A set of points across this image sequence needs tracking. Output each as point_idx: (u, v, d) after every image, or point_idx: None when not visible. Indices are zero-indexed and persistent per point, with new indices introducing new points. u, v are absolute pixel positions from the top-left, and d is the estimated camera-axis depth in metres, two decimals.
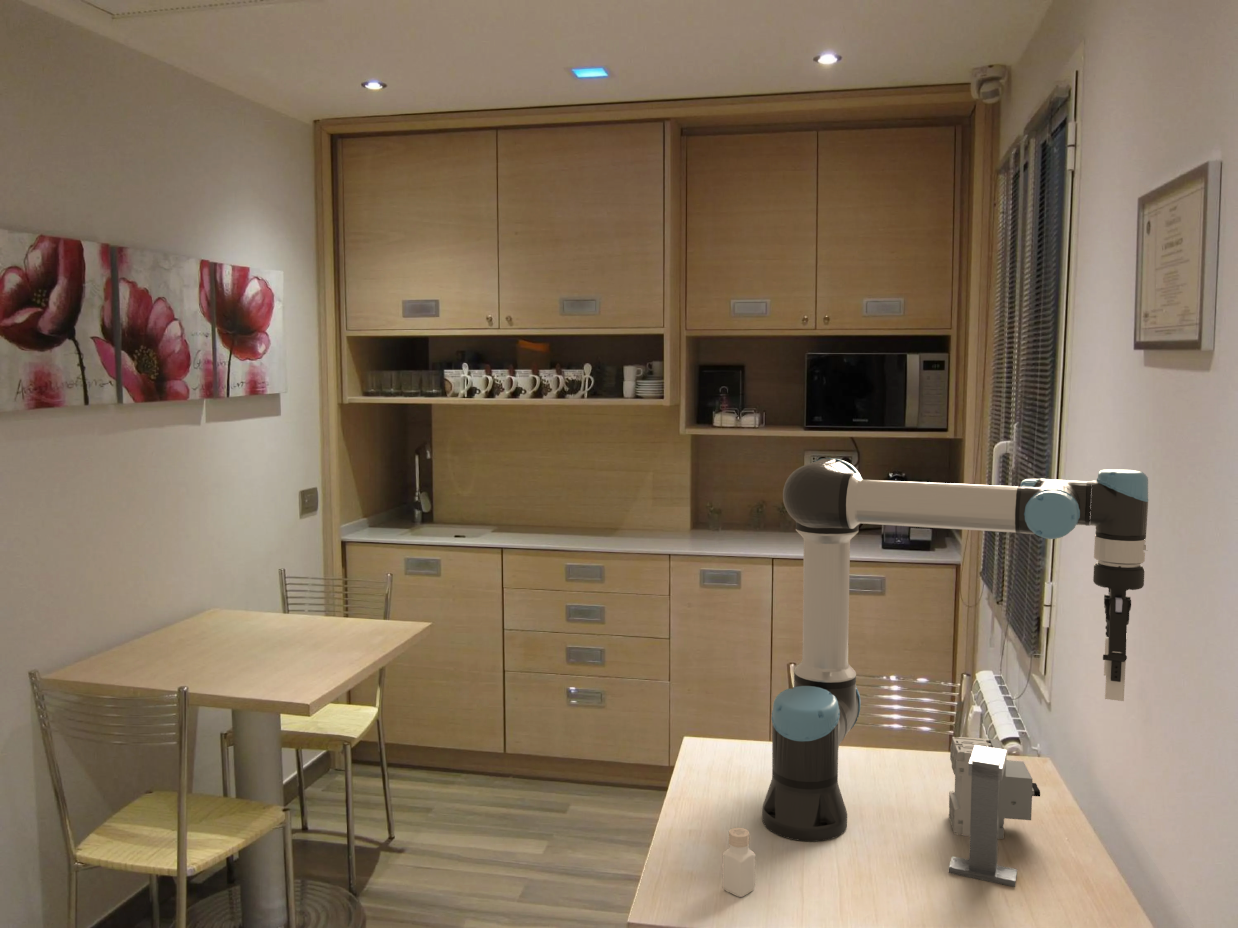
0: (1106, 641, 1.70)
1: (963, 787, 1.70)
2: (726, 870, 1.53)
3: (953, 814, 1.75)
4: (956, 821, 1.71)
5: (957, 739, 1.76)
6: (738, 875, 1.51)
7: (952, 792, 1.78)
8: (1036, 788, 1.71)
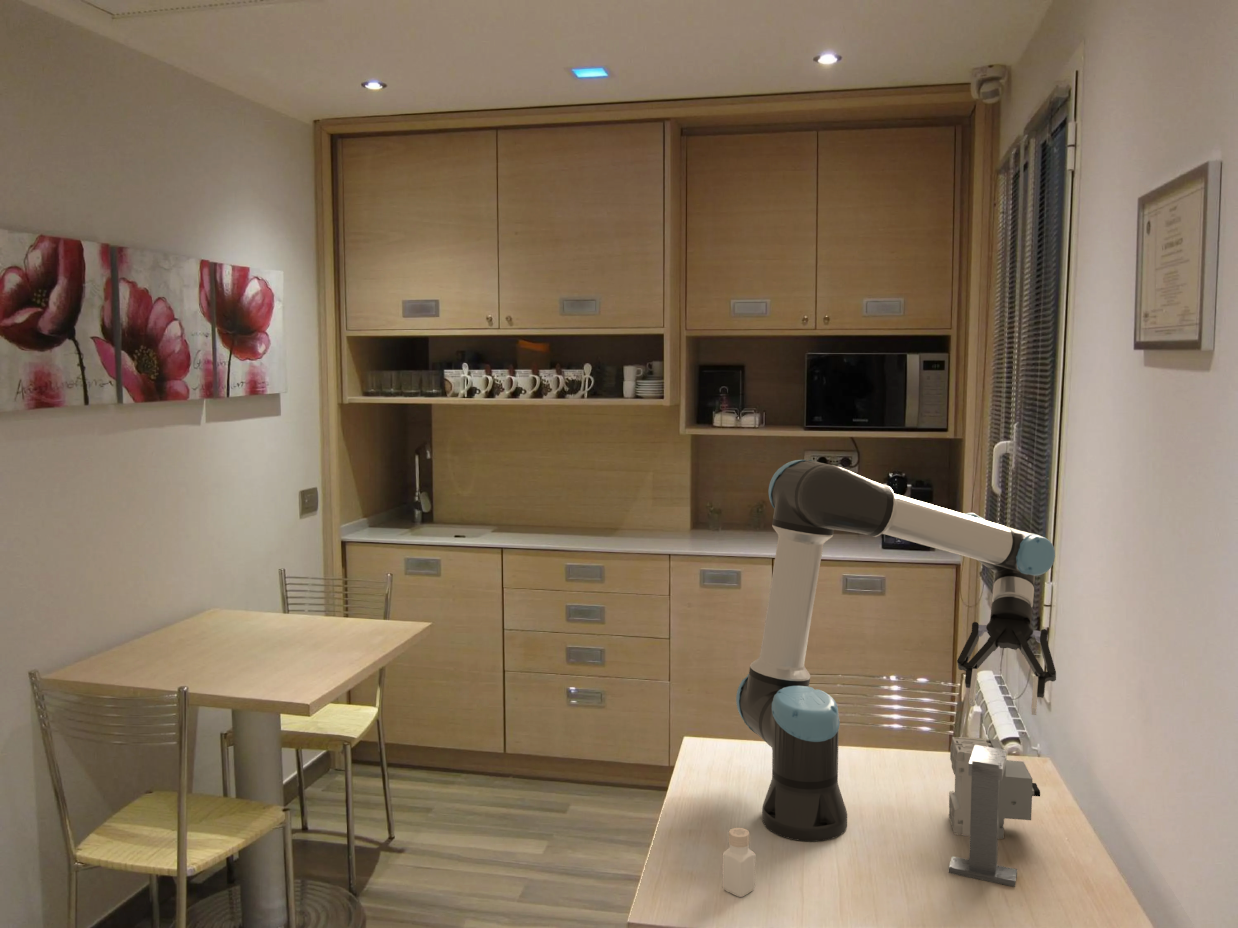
0: (976, 671, 1.85)
1: (963, 787, 1.70)
2: (726, 870, 1.53)
3: (953, 814, 1.75)
4: (956, 821, 1.71)
5: (957, 739, 1.76)
6: (738, 875, 1.51)
7: (952, 792, 1.78)
8: (1036, 788, 1.71)
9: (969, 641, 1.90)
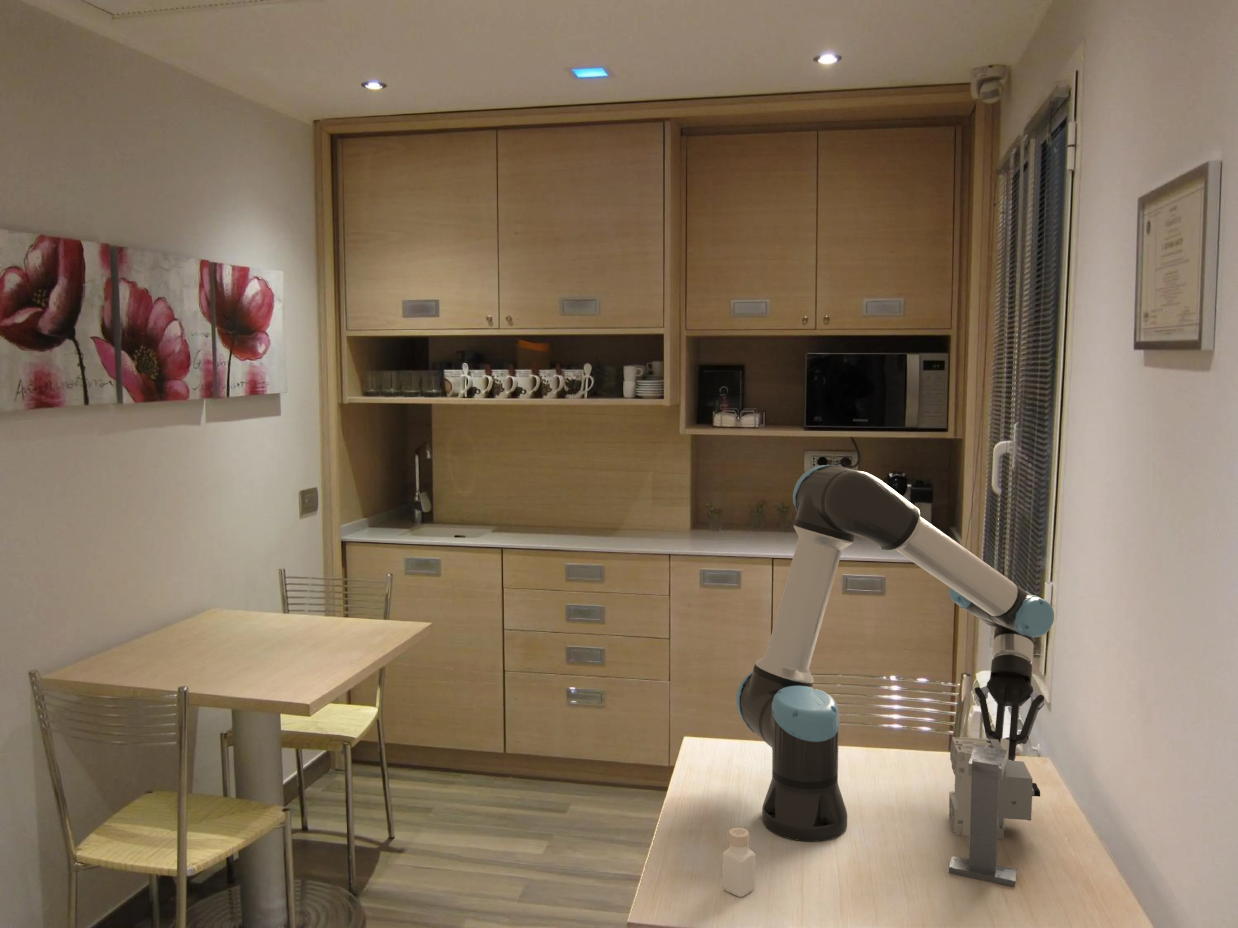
0: (1004, 741, 1.84)
1: (963, 787, 1.70)
2: (726, 870, 1.53)
3: (953, 814, 1.75)
4: (956, 821, 1.71)
5: (957, 739, 1.76)
6: (738, 875, 1.51)
7: (952, 792, 1.78)
8: (1036, 788, 1.71)
9: (983, 708, 1.89)
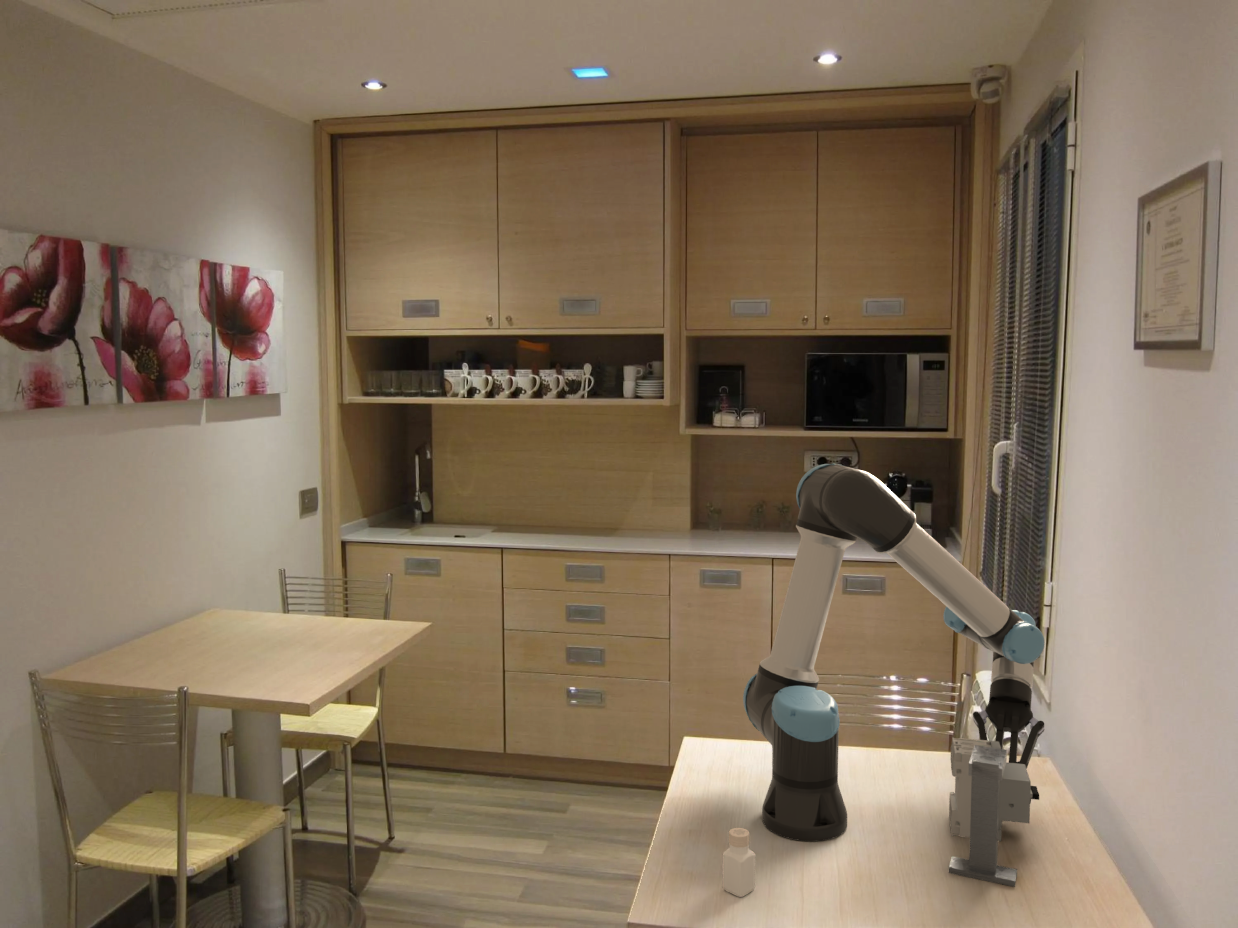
0: None
1: (961, 788, 1.70)
2: (726, 870, 1.53)
3: (952, 815, 1.74)
4: (953, 822, 1.71)
5: (957, 740, 1.75)
6: (738, 875, 1.51)
7: (952, 793, 1.77)
8: (1036, 791, 1.69)
9: (982, 733, 1.85)
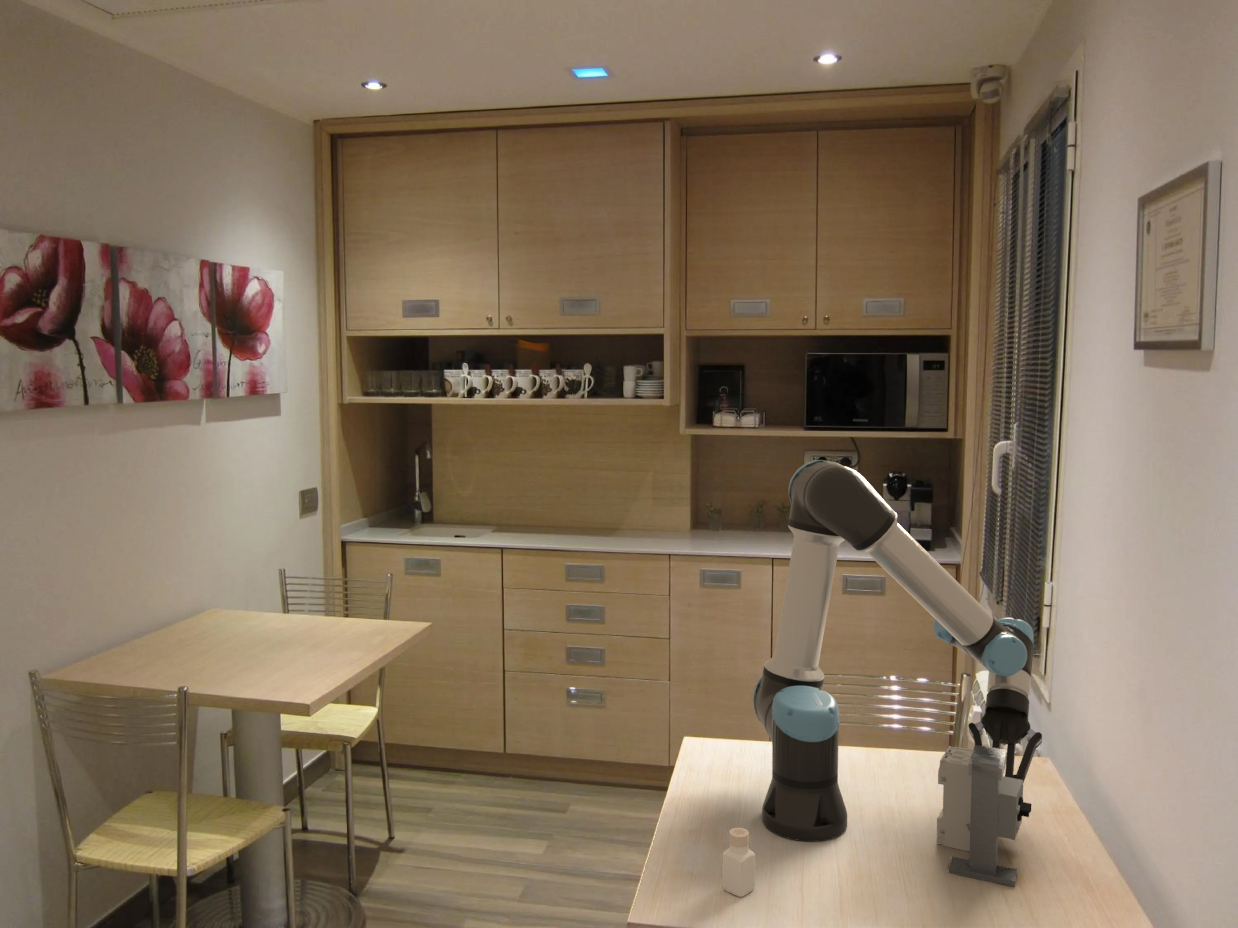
0: None
1: (945, 796, 1.67)
2: (726, 870, 1.53)
3: None
4: (938, 830, 1.68)
5: (952, 748, 1.72)
6: (738, 875, 1.51)
7: None
8: (1026, 808, 1.63)
9: None
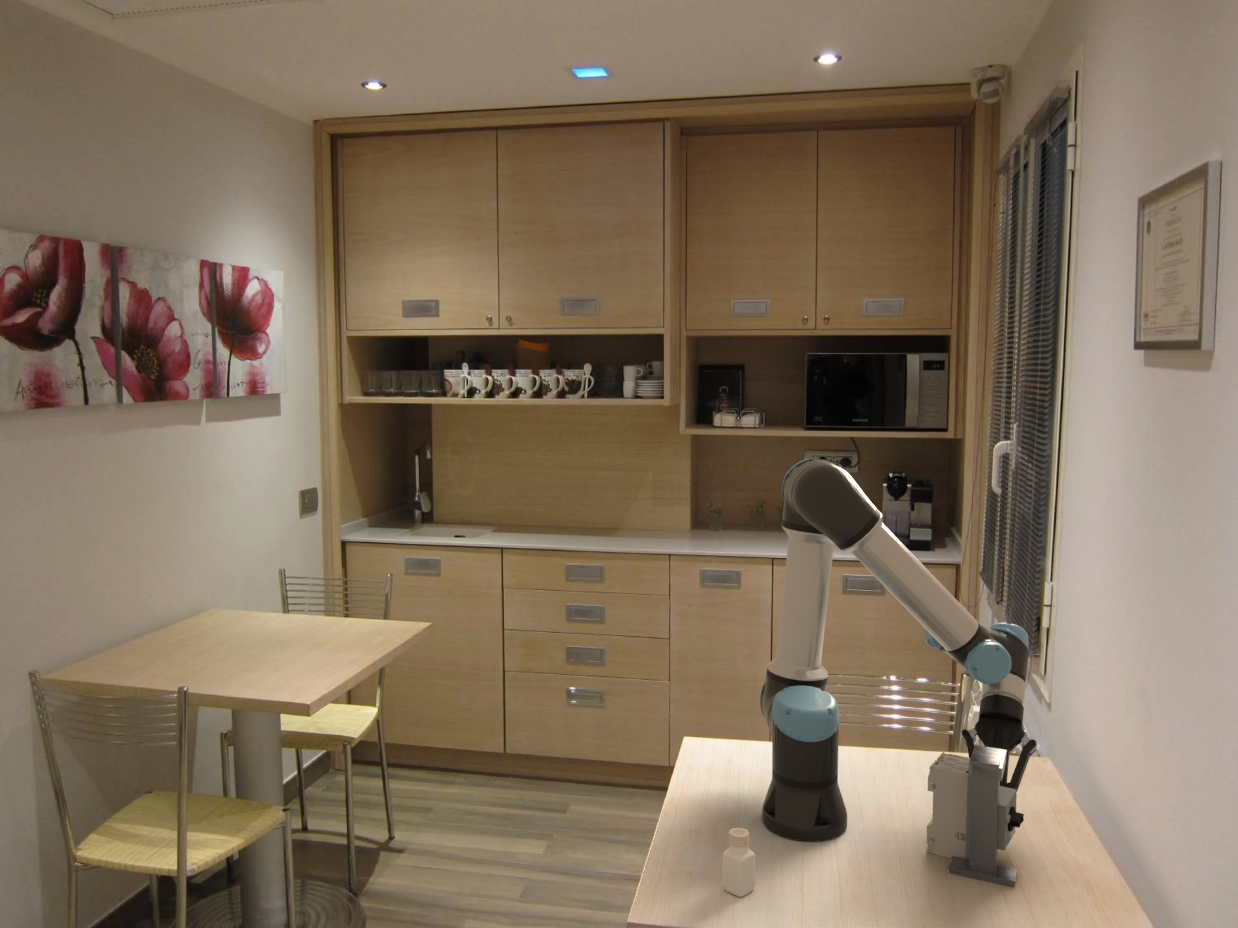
0: None
1: (935, 804, 1.64)
2: (726, 870, 1.53)
3: None
4: (928, 838, 1.65)
5: (945, 755, 1.69)
6: (738, 875, 1.51)
7: None
8: (1018, 818, 1.59)
9: (971, 752, 1.76)
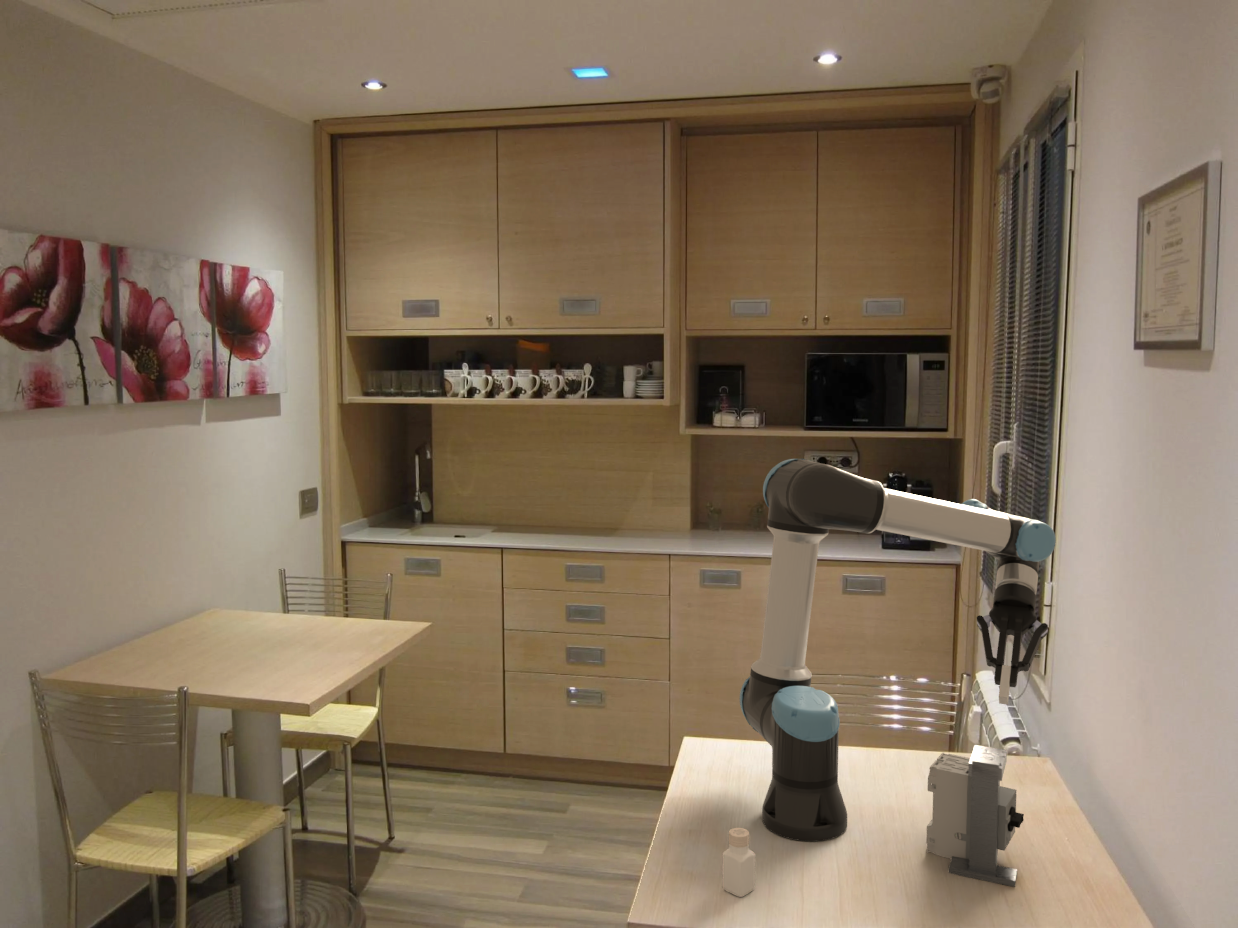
0: (1006, 667, 1.80)
1: (935, 804, 1.64)
2: (726, 870, 1.53)
3: None
4: (928, 838, 1.65)
5: (945, 755, 1.69)
6: (738, 875, 1.51)
7: None
8: (1017, 819, 1.59)
9: (985, 635, 1.85)
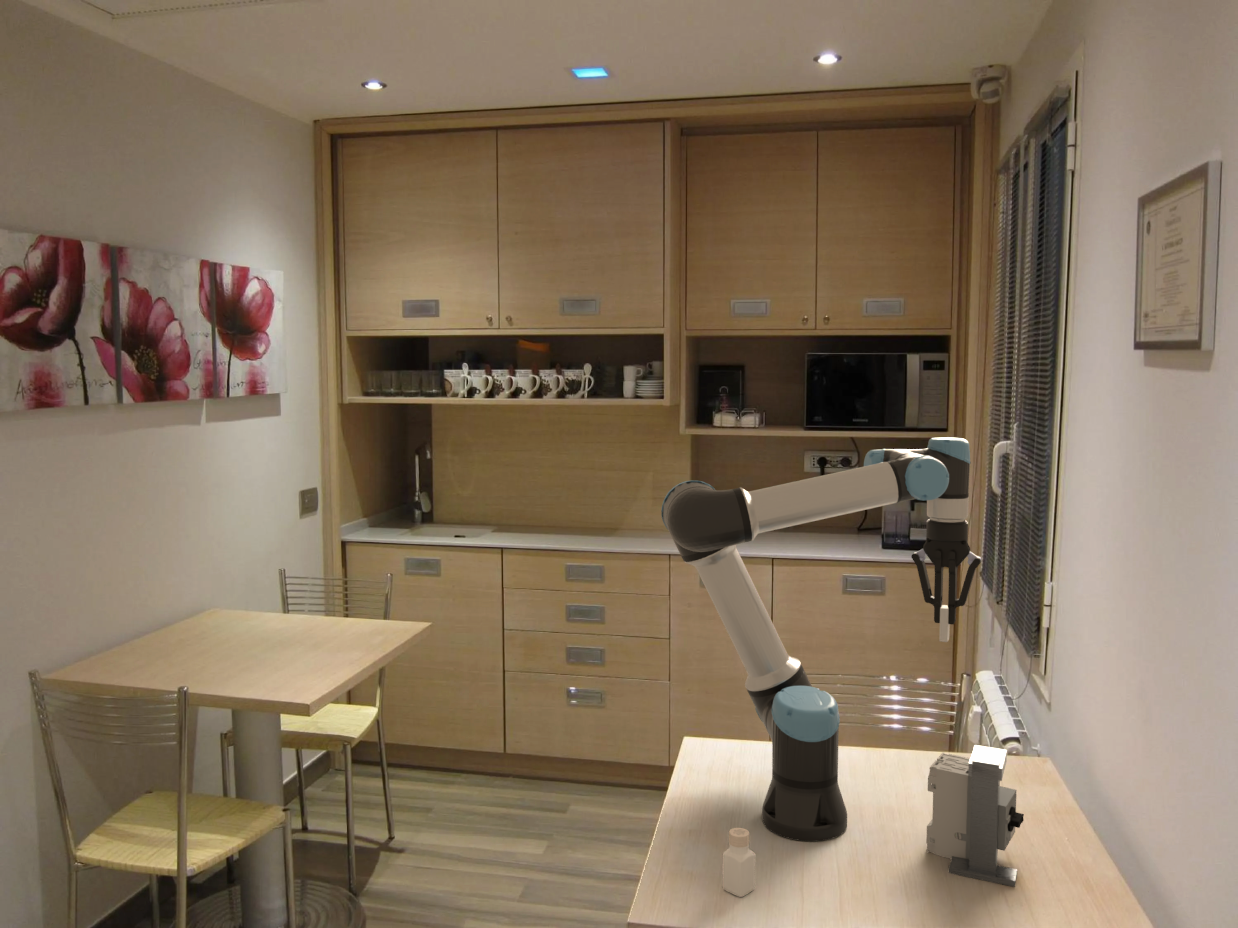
0: (944, 610, 1.86)
1: (935, 804, 1.64)
2: (726, 870, 1.53)
3: None
4: (928, 838, 1.65)
5: (945, 755, 1.69)
6: (738, 875, 1.51)
7: None
8: (1018, 819, 1.59)
9: (921, 576, 1.88)
